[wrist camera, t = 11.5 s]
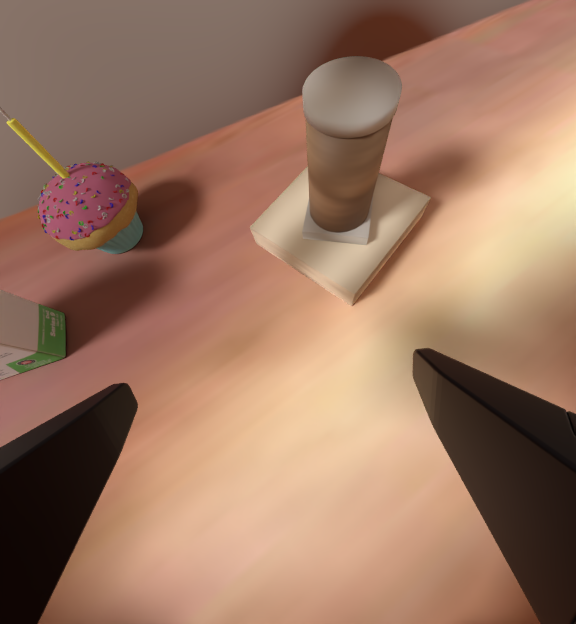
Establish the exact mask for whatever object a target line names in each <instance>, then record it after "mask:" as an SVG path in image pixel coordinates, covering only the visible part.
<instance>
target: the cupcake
mask: <svg viewBox="0 0 576 624" xmlns="http://www.w3.org/2000/svg"><path fill="white" fill-rule="evenodd" d="M0 112H1V113H2V114H3V115H4V116H5V117H6V118H7V119H8V121H7V124H8V125H9V126H10V127H11V128H12V129H13V130H14V131H15V132H16V133H17V134H18V135H19V136H20V137H21V138H22V139H23V140H24V141H25V142H26V143H27V144H28V145H29V146H30V147H31V148H32V149H33V150H34V151H35V152H36V153H37V154H38V155H40V157H41V158H43V160H44V161H45V162H46V163H48V165H50V166H51V167H52V168H53V169H54V170H55V171H56V172H57V174H56V175H55V176H54V177H53V179H52V180H51V181H50V182H49V183H48V184H45V185H44V190H42V191H41V195H40V197H39V198H40V199H39V198H38V200H39V201H40V202H39V206H38V213H39V214H40V215H38V218H39V219H41V222H42V227H43V229H44V230H45V233H48V234H49V235H51V237H52V238H54V239H55V240H56V241H57V242H59V243H61V244H62V245H64V246H66V247H67V248H69V249H72V250H76V251H79V250H91V249H99V250H102V251H105V252H108V253H111V254H120V253H123V252H126V251H128V250H130V249H131V248H133V247H134V246H135V245H136V244H137V243H138V242H139V240H140V238H141V236H142V233H143V225H142V222H141V220H140V218H139V216H138V214H137V211H136V209H137V199H138V190H137V188H136V187H135V185H134V184H133V183H132V182H131V181H130V180H129V179H128V178H127V177H126V176H125V175H124V174H123V173H121V172H120V171H118V170H117V169H116V168H115V167H114V166H113V165H110V166H107V165H104V164H103V163H102V164H100V163H99V162H95V163H90V162H86V163H81V164H79V165H77V164H74V165H75V166H74V165H72V166H67V167H65V168H63V167H62V166H61V165H60V164H59V163H58V162H57V161H56V160H55V159H54V158H53V157H52V156H51V155H50V154H49V153H48V152H47V151H46V150H45V149H44V148H43V147H42V145H41V144H39V142H38V141H37V140H36V139H35V138H34V137H33V136H32V135H30V133H29V132H28V131H27V130H26V129H25V128H24V127H23V126H22V125H21V124H20V123H19V122H18V121H17V120H16V119H15V118H12V119H11V118H10V117H9V116H8V115H7V114H6V113H5V112H4V111H3V110H2V109H1V108H0ZM39 216H40V217H39Z"/></svg>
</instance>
